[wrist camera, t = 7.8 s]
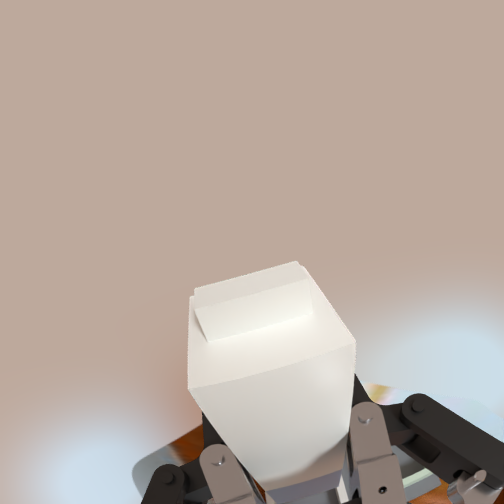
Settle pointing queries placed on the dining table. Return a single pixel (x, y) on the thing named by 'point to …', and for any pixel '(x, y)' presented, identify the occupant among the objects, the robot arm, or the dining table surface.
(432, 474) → the double bin tray
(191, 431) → the dining table surface
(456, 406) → the dining table surface
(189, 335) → the milk carton
